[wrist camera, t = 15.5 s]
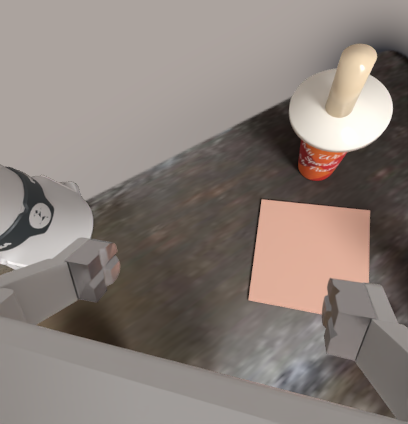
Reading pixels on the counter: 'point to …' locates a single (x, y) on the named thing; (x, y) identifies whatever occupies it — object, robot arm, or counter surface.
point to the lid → (342, 104)
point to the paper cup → (317, 162)
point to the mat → (307, 252)
